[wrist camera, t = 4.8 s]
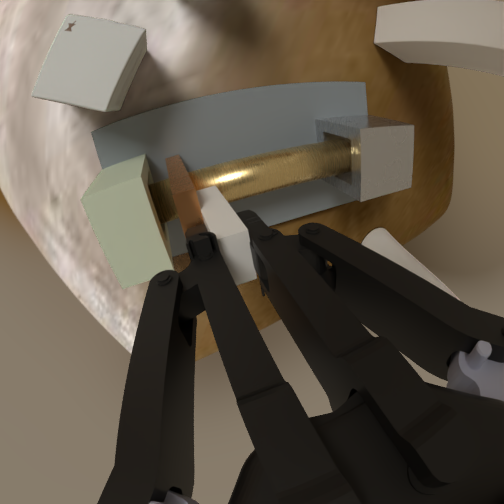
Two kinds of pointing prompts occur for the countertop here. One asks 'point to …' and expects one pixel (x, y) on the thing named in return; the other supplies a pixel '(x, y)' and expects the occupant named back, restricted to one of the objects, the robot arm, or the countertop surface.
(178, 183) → the tube
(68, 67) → the product box
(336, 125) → the grey cube end cap
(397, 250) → the cosmetic bottle
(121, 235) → the socket
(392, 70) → the countertop surface
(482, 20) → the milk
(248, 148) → the board
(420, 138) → the countertop surface
